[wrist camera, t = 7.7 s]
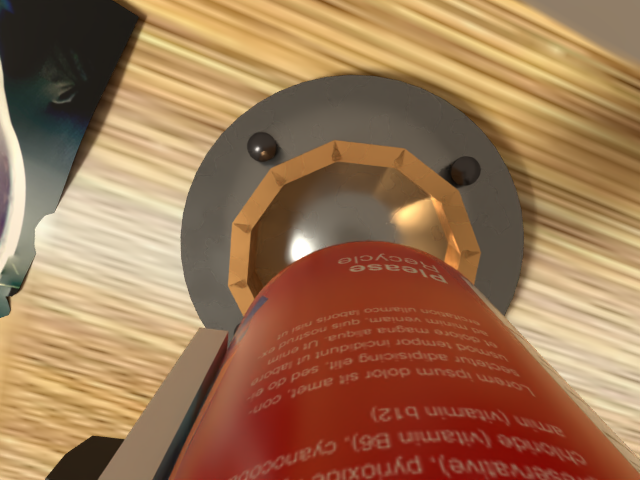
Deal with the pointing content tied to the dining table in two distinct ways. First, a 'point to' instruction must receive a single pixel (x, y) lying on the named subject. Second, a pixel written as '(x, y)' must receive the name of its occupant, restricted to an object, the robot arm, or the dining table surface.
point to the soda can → (390, 384)
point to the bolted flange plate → (346, 191)
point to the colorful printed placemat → (47, 109)
